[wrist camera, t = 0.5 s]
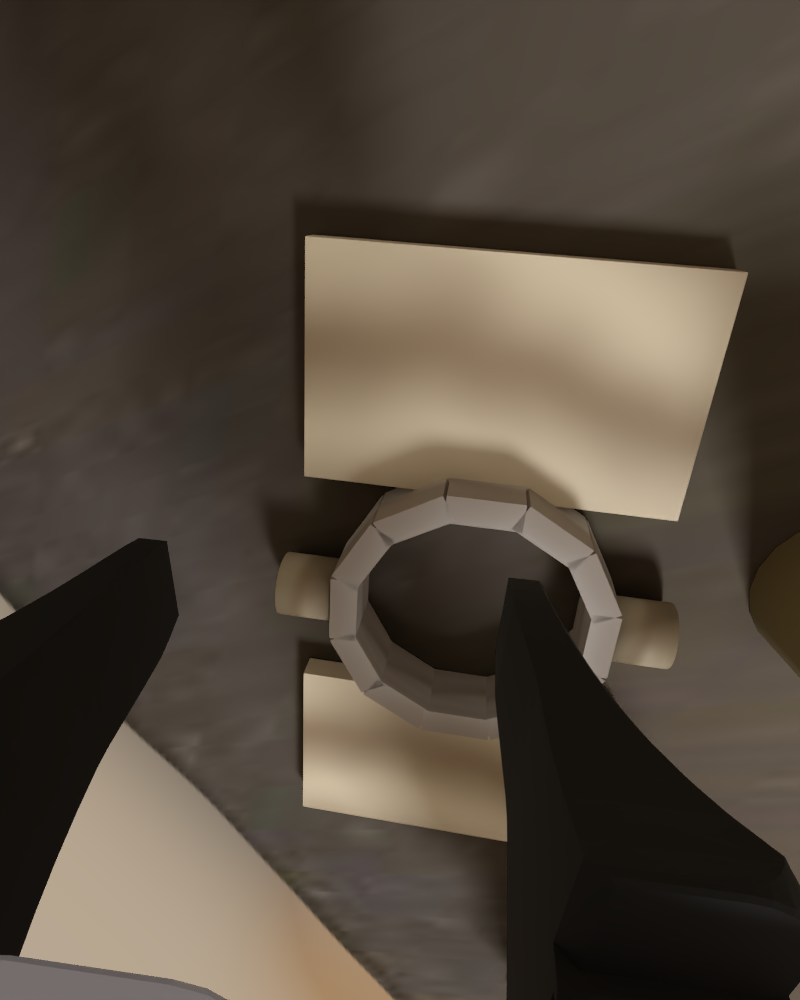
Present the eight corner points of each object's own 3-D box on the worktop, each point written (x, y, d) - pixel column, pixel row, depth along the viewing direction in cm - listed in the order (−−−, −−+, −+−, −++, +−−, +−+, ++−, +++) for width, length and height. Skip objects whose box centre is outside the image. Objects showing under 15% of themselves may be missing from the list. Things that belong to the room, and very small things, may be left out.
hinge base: (595, 837, 30) (603, 889, 28) (294, 786, 31) (278, 831, 29) (761, 271, 19) (795, 280, 17) (292, 233, 21) (266, 236, 18)
